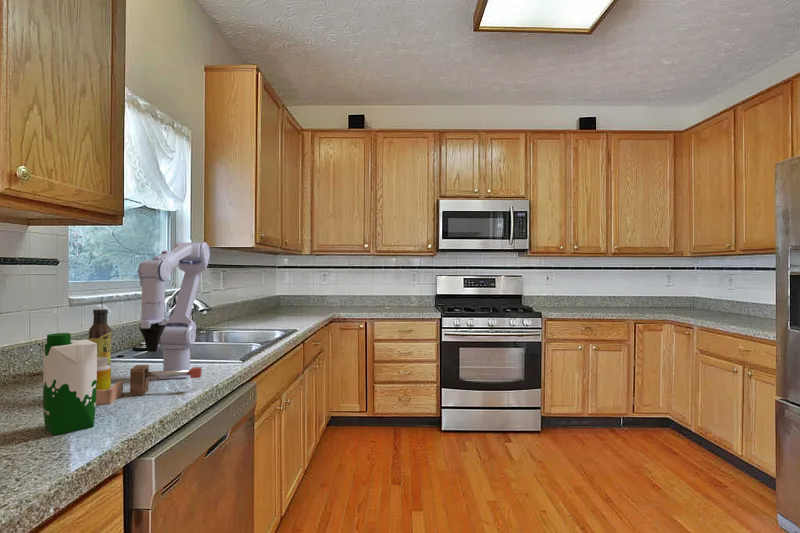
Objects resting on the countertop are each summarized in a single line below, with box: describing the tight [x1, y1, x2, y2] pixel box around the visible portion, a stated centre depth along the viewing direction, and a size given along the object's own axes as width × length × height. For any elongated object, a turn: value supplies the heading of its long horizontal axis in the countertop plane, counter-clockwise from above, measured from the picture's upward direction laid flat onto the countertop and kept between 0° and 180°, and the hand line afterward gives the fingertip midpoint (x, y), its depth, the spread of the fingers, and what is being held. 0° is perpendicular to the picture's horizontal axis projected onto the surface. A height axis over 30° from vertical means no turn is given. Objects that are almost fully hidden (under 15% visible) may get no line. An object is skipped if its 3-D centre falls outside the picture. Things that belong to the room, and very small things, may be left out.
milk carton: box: [42, 332, 97, 436], centre depth 97 cm, size 9×9×20 cm
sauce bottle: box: [87, 308, 112, 366], centre depth 149 cm, size 6×6×20 cm
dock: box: [96, 381, 124, 405], centre depth 117 cm, size 9×10×3 cm
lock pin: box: [145, 366, 203, 379], centre depth 125 cm, size 2×16×2 cm, turn 104°
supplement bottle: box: [97, 357, 112, 390], centre depth 119 cm, size 6×6×10 cm
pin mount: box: [129, 364, 150, 397], centre depth 124 cm, size 5×3×7 cm, turn 13°
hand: (152, 351), depth 128 cm, fingers closed
